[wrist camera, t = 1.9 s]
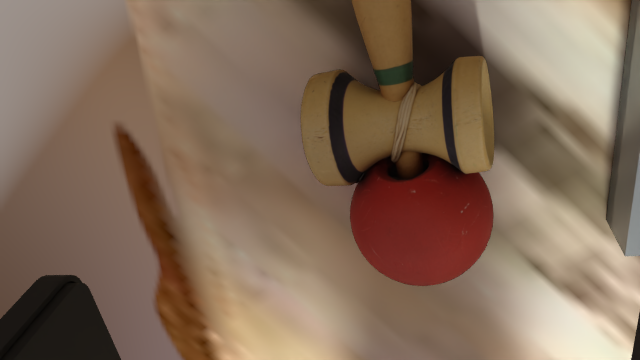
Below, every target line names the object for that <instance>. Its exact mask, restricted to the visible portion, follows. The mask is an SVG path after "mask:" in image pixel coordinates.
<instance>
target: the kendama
mask: <svg viewBox="0 0 640 360" xmlns="http://www.w3.org/2000/svg"><path fill="white" fill-rule="evenodd" d="M352 4H353V7H354V11H355V15H356V18H357V21H358V24H359V27H360V30H361V33H362V37H363V40H364V43H365V46H366V48H367V52H368V55H369V58H370V61H371V64H372V66H373V70H374V73H375V75H376V78H377V81H378V85H379V87H380V90H376V89H373V88H370V87H368V86H366V85H363V84H362V83H360V82H358V81H357V80H356V79H354V78H353V77H352V76H351V75H349V74H348V73H347V72H346V71H344V70H335V71H330V72H325V73H319V74H316V75H314V76H312V77H311V78H310V79H309V81H308V83H307V85H306V88H305V91H304V95H303V99H302V105H301V132H302V141H303V146H304V151H305V155H306V158H307V161H308V164H309V166H310V169H311V171H312V172H313V174H314V175H315V177H316V178H317V179H318V181H319V182H320V183H322V184H324V185H326V186H344V185H352V184H354V183H358V184H357V186H356V188H355V191H354V194H353V197H352V201H351V208H350V221H351V227H352V232H353V235H354V238H355V241H356V243H357V245H358V247H359V249H360V251H361V252H362V254H363V256H364V257H365V258H366V259H367V261H368V262H369V263H370V264H371V265H372V266H373V267H374V268H375V269H377V270H378V271H379V272H381V273H382V274H384V275H385V276H387V277H389V278H391V279H393V280H396V281H398V282H401V283H404V284H408V285H417V286H428V285H435V284H440V283H444V282H447V281H449V280H452V279H454V278H456V277H458V276H460V275H461V274H463V273H464V272H465V271H467V270H468V269H469V268H470V267H471V266H472V265H473V264H474V263H475V262H476V261H477V260H478V259H479V257H480V256H481V254H482V253H483V251H484V250H485V248H486V246H487V243H488V241H489V239H490V235H491V231H492V227H493V205H492V200H491V196H490V193H489V190H488V188H487V185H486V183H485V181H484V180H483V178H482V176H481V175H480V173H479V172H484V171H489V170H490V168H491V167H492V165H493V160H494V121H493V105H492V96H491V90H490V81H489V74H488V67H487V62H486V60H485V59H484V58H483V56H469V57H459V58H457V59H456V60H455V61H454V62H453V63H452V64H451V66H450V67H449V68H448V69H447V70H446V71H445V72H443V73H442V74H441V75H440V76H439V77H437V78H436V79H435V80H433V81H432V82H430V83H428V84H426V85H423V86H421V85H420V84H417V83H416V82H414V78H413V47H412V12H411V0H352Z"/></svg>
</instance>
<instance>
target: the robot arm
mask: <svg viewBox="0 0 640 360" xmlns="http://www.w3.org/2000/svg"><path fill="white" fill-rule="evenodd" d="M0 360H121V358H120V356H119V354H118V352H117V349H116V347H115V345H114V343H113V340H112V338H111V336H110V334H109V332H108V330H107V327H106V325H105V323H104V321H103V318H102V316H101V314H100V312H99V309H98V307H97V305H96V303H95V301H94V299H93V296H92V294H91V292H90V290H89V288H88V286H87V285H86V284H84V283H82V282H81V280H80V279H79V278H78V277H77V276H74V275H46V276H42V277H40V278H39V279H38V280H36V282H35V283H34V284H33V285H32V286H31V287H30V288H29V289H28V290H27V291H26V292H25V293H24V294H23V295H22V296H21V298H20V299H19V300H18V301H17V302H16V303H15V304H14V305H13V306H12V308H10V309H9V310H8V312H7V313H6V314H5V315H4V316H3V317H2V318H1V319H0ZM631 360H640V313H639V319H638V324H637V330H636V336H635V341H634V347H633V353H632V358H631Z"/></svg>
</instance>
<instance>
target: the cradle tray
mask: <svg viewBox="0 0 640 360" xmlns="http://www.w3.org/2000/svg"><path fill="white" fill-rule="evenodd" d="M606 220H607V222H608V224H609V226H610V228H611V230H612V232H613V234H614V236H615V238H616V240H617V242H618V244H619V246H620V247H621V249H622V251H623V253H624V255H625V256H640V0H632V3H631V11H630V20H629V28H628V37H627V45H626V54H625V63H624V71H623V80H622V88H621V97H620V105H619V114H618V122H617V131H616V140H615V148H614V157H613V165H612V174H611V182H610V191H609V199H608V208H607V217H606Z"/></svg>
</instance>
